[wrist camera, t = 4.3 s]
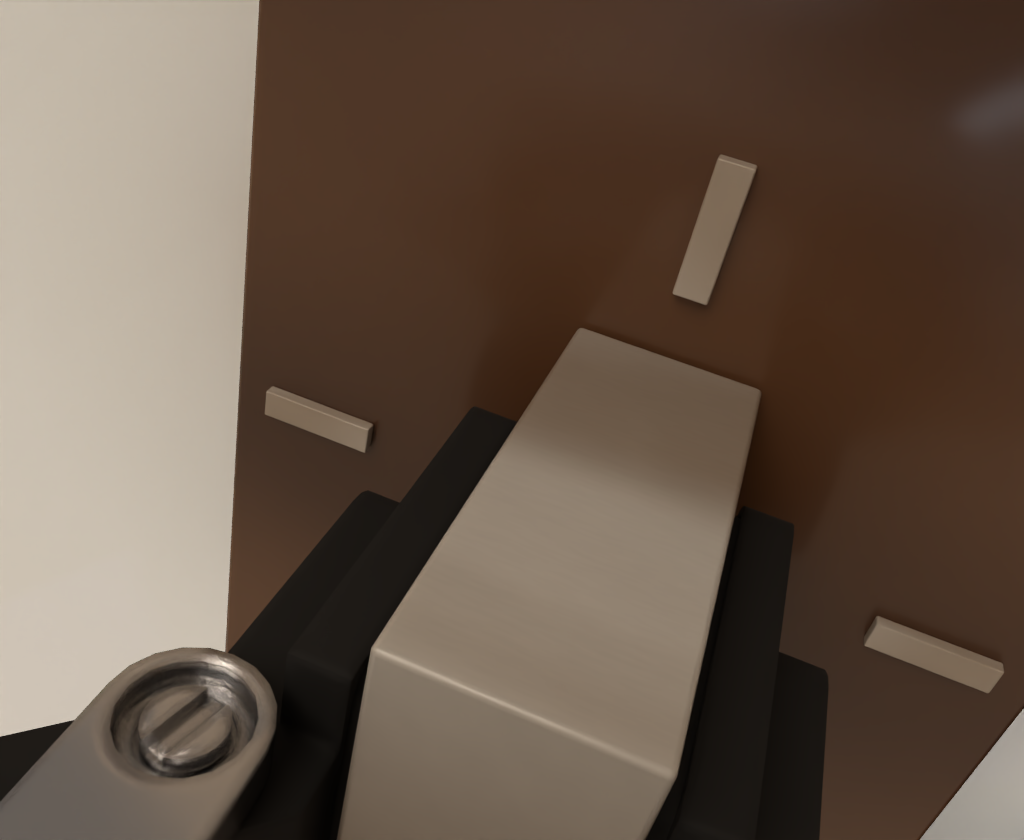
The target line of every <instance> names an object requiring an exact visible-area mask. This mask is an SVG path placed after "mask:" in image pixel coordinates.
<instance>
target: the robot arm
mask: <svg viewBox="0 0 1024 840" xmlns="http://www.w3.org/2000/svg"><path fill="white" fill-rule="evenodd" d="M516 424H517V421H514V420H511V419H509V418H506V417H503V416H500V415H498V414H495V413H492V412H490V411H487V410H484V409H481V408H479V407H476V406H474V407H472V408H471V409H470V410H469V411H468V413H467V414H466V415H465V417H464V418H463V419H462V421H461V422H460V423H459V425H458V426H457V427H456V429H455V430H454V431H453V433H452V434H451V435H450V437H449V438H448V439H447V441H446V442H445V443H444V445H443V446H442V447H441V449H440V450H439V451H438V453H437V454H436V455H435V457H434V458H433V459H432V461H431V462H430V463H429V465H428V466H427V467H426V469H425V470H424V471H423V473H422V474H421V475H420V477H419V478H418V479H417V481H416V482H415V483H414V485H413V486H412V487H411V489H410V490H409V491H408V493H407V494H406V495H405V497H404V498H403V499H402V501H401V502H400V503H399V502H397V501H394V500H392V499H389V498H387V497H384V496H382V495H379V494H376V493H374V492H371V491H369V490H367V491H364V492H362V493H360V494H359V495H358V496H357V497H356V498H355V499H354V500H353V501H352V503H351V504H350V505H349V506H348V508H347V509H346V510H345V511H344V512H343V514H342V515H341V516H340V517H339V518H338V520H337V521H336V522H335V523H334V524H333V526H332V527H331V528H330V529H329V531H328V532H327V533H326V534H325V535H324V537H323V538H322V539H321V540H320V541H319V543H318V544H317V545H316V546H315V548H314V549H313V550H312V551H311V552H310V554H309V555H308V556H307V557H306V558H305V560H304V561H303V562H302V563H301V564H300V566H299V567H298V568H297V569H296V571H295V572H294V573H293V574H292V575H291V577H290V578H289V579H288V580H287V581H286V583H285V584H284V585H283V586H282V587H281V589H280V590H279V591H278V592H277V594H276V595H275V596H274V597H273V598H272V600H271V601H270V602H269V603H268V604H267V606H266V607H265V608H264V609H263V610H262V612H261V613H260V614H259V615H258V617H257V618H256V619H255V620H254V621H253V623H252V624H251V625H250V626H249V627H248V629H247V630H246V631H245V632H244V633H243V635H242V636H241V637H240V638H239V640H238V641H237V642H236V643H235V644H234V646H233V647H232V648H231V649H230V650H229V652H228V653H226V652H223V651H219V650H215V649H211V648H178V649H173V650H169V651H164V652H159V653H155V654H153V655H151V656H149V657H146V658H144V659H142V660H140V661H138V662H136V663H134V664H132V665H130V666H128V667H127V668H126V669H125V670H124V671H122V672H121V673H120V674H119V675H118V676H116V677H115V678H114V679H113V680H112V681H110V682H109V683H108V684H107V685H106V686H105V687H104V689H103V690H102V691H101V692H100V693H99V694H98V695H97V696H96V697H95V698H94V699H93V701H92V702H91V703H90V704H89V705H88V706H87V707H86V708H85V709H84V710H83V712H82V713H81V714H80V715H79V716H78V717H77V718H76V719H75V720H73V721H68V722H64V723H59V724H55V725H51V726H46V727H42V728H37V729H33V730H28V731H24V732H19V733H15V734H11V735H6V736H2V737H0V840H337V836H338V830H339V824H340V819H341V813H342V808H343V802H344V797H345V791H346V785H347V780H348V774H349V769H350V763H351V758H352V752H353V746H354V741H355V735H356V730H357V724H358V719H359V713H360V707H361V702H362V696H363V691H364V685H365V679H366V674H367V668H368V663H369V657H370V652H371V647H372V646H373V644H374V643H375V641H376V640H377V638H378V637H379V635H380V633H381V632H382V630H383V629H384V627H385V626H386V624H387V623H388V621H389V620H390V618H391V616H392V615H393V613H394V612H395V610H396V609H397V607H398V606H399V604H400V603H401V601H402V599H403V598H404V596H405V595H406V593H407V592H408V590H409V589H410V587H411V586H412V584H413V583H414V581H415V579H416V578H417V576H418V575H419V573H420V572H421V570H422V569H423V567H424V566H425V564H426V562H427V561H428V559H429V558H430V556H431V555H432V553H433V552H434V550H435V549H436V547H437V546H438V544H439V542H440V541H441V539H442V538H443V536H444V535H445V533H446V532H447V530H448V529H449V527H450V525H451V524H452V522H453V521H454V519H455V518H456V516H457V515H458V513H459V512H460V510H461V508H462V507H463V505H464V504H465V502H466V501H467V499H468V498H469V496H470V495H471V493H472V492H473V490H474V488H475V487H476V485H477V484H478V482H479V481H480V479H481V478H482V476H483V475H484V473H485V471H486V470H487V468H488V467H489V465H490V464H491V462H492V461H493V459H494V458H495V456H496V455H497V453H498V451H499V450H500V448H501V447H502V445H503V444H504V442H505V441H506V439H507V438H508V436H509V434H510V433H511V431H512V430H513V428H514V427H515V425H516ZM793 537H794V524H793V523H790V522H787V521H784V520H782V519H779V518H776V517H774V516H771V515H768V514H766V513H763V512H760V511H757V510H755V509H752V508H749V507H747V506H743V507H742V508H741V510H740V512H739V514H738V516H737V517H734V522H733V526H732V531H731V535H730V540H729V545H728V549H727V554H726V558H725V563H724V567H723V572H722V576H721V581H720V585H719V590H718V594H717V599H716V603H715V608H714V613H713V617H712V622H711V626H710V631H709V635H708V640H707V644H706V649H705V653H704V658H703V662H702V667H701V671H700V676H699V681H698V685H697V690H696V694H695V699H694V703H693V708H692V712H691V717H690V721H689V726H688V730H687V735H686V739H685V744H684V749H683V753H682V758H681V762H680V767H679V771H678V776H677V778H676V780H675V782H674V784H673V786H672V788H671V790H670V792H669V794H668V796H667V798H666V800H665V802H664V804H663V806H662V808H661V810H660V812H659V814H658V816H657V818H656V820H655V822H654V824H653V826H652V828H651V830H650V832H649V834H648V836H647V838H646V840H819V837H820V821H821V805H822V788H823V772H824V756H825V739H826V723H827V707H828V691H829V685H828V675H827V672H826V670H825V669H822V668H819V667H817V666H814V665H812V664H809V663H807V662H804V661H802V660H799V659H797V658H794V657H791V656H789V655H786V654H784V653H781V652H779V647H780V639H781V631H782V624H783V616H784V608H785V600H786V592H787V584H788V577H789V569H790V561H791V553H792V545H793Z"/></svg>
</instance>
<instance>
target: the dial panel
mask: <svg viewBox="0 0 1024 840" xmlns="http://www.w3.org/2000/svg"><path fill="white" fill-rule="evenodd" d="M579 328H584V329H587V330H590V331H593V332H596V333H599V334H601V335H604V336H607V337H610V338H613V339H616V340H619V341H622V342H624V343H627V344H630V345H633V346H636V347H639V348H642V349H645V350H647V351H650V352H653V353H656V354H659V355H662V356H665V357H667V358H670V359H673V360H676V361H679V362H682V363H685V364H688V365H690V366H693V367H696V368H699V369H702V370H705V371H708V372H711V373H713V374H716V375H719V376H722V377H725V378H728V379H731V380H733V381H736V382H739V383H742V384H745V385H748V386H751V387H754V388H756V389H758V390H760V391H761V399H760V404H759V409H758V413H757V418H756V422H755V427H754V431H753V436H752V440H751V445H750V449H749V454H748V458H747V463H746V467H745V472H744V477H743V481H742V486H741V490H740V495H739V499H738V504H737V508H736V513H735V517H737V516H738V514H739V512H740V510H741V508H742V507H743V506H747V507H749V508H752V509H755V510H757V511H760V512H763V513H766V514H768V515H771V516H774V517H776V518H779V519H782V520H784V521H787V522H790V523H793V524H794V537H793V545H792V553H791V561H790V569H789V577H788V584H787V592H786V600H785V608H784V616H783V624H782V631H781V639H780V647H779V652H781V653H784V654H786V655H789V656H791V657H794V658H797V659H799V660H802V661H804V662H807V663H809V664H812V665H814V666H817V667H819V668H822V669H825V670H826V672H827V675H828V685H829V691H828V707H827V723H826V739H825V756H824V772H823V788H822V805H821V821H820V837H819V840H920V838H921V837H922V836H923V835H924V833H925V832H926V831H927V830H928V828H929V827H930V826H931V825H932V823H933V822H934V821H935V819H936V818H937V817H938V816H939V814H940V813H941V812H942V811H943V809H944V808H945V807H946V806H947V804H948V803H949V802H950V800H951V799H952V798H953V797H954V795H955V794H956V793H957V792H958V790H959V789H960V788H961V787H962V785H963V784H964V783H965V781H966V780H967V779H968V778H969V776H970V775H971V774H972V773H973V771H974V770H975V769H976V768H977V766H978V765H979V764H980V763H981V761H982V760H983V759H984V757H985V756H986V755H987V754H988V752H989V751H990V750H991V749H992V747H993V746H994V745H995V744H996V742H997V741H998V740H999V738H1000V737H1001V736H1002V735H1003V733H1004V732H1005V731H1006V730H1007V728H1008V727H1009V726H1010V725H1011V723H1012V722H1013V721H1014V720H1015V718H1016V717H1017V716H1018V714H1019V713H1020V712H1021V711H1022V709H1023V708H1024V0H260V1H259V20H258V40H257V59H256V78H255V97H254V116H253V135H252V154H251V173H250V192H249V211H248V230H247V249H246V269H245V288H244V307H243V326H242V345H241V364H240V383H239V402H238V421H237V440H236V459H235V478H234V498H233V517H232V536H231V555H230V574H229V593H228V612H227V631H226V650H225V652H226V653H228V652H229V650H230V649H231V648H232V647H233V646H234V644H235V643H236V642H237V641H238V640H239V638H240V637H241V636H242V635H243V633H244V632H245V631H246V630H247V629H248V627H249V626H250V625H251V624H252V623H253V621H254V620H255V619H256V618H257V617H258V615H259V614H260V613H261V612H262V610H263V609H264V608H265V607H266V606H267V604H268V603H269V602H270V601H271V600H272V598H273V597H274V596H275V595H276V594H277V592H278V591H279V590H280V589H281V587H282V586H283V585H284V584H285V583H286V581H287V580H288V579H289V578H290V577H291V575H292V574H293V573H294V572H295V571H296V569H297V568H298V567H299V566H300V564H301V563H302V562H303V561H304V560H305V558H306V557H307V556H308V555H309V554H310V552H311V551H312V550H313V549H314V548H315V546H316V545H317V544H318V543H319V541H320V540H321V539H322V538H323V537H324V535H325V534H326V533H327V532H328V531H329V529H330V528H331V527H332V526H333V524H334V523H335V522H336V521H337V520H338V518H339V517H340V516H341V515H342V514H343V512H344V511H345V510H346V509H347V508H348V506H349V505H350V504H351V503H352V501H353V500H354V499H355V498H356V497H357V496H358V495H359V494H360V493H362V492H364V491H367V490H369V491H371V492H374V493H376V494H379V495H382V496H384V497H387V498H389V499H392V500H394V501H397V502H399V503H400V502H401V501H402V499H403V498H404V497H405V495H406V494H407V493H408V491H409V490H410V489H411V487H412V486H413V485H414V483H415V482H416V481H417V479H418V478H419V477H420V475H421V474H422V473H423V471H424V470H425V469H426V467H427V466H428V465H429V463H430V462H431V461H432V459H433V458H434V457H435V455H436V454H437V453H438V451H439V450H440V449H441V447H442V446H443V445H444V443H445V442H446V441H447V439H448V438H449V437H450V435H451V434H452V433H453V431H454V430H455V429H456V427H457V426H458V425H459V423H460V422H461V421H462V419H463V418H464V417H465V415H466V414H467V413H468V411H469V410H470V409H471V408H472V407H474V406H476V407H479V408H481V409H484V410H487V411H490V412H492V413H495V414H498V415H500V416H503V417H506V418H509V419H511V420H514V421H517V422H518V421H519V419H520V417H521V416H522V414H523V413H524V411H525V410H526V408H527V407H528V405H529V404H530V402H531V401H532V399H533V397H534V396H535V394H536V393H537V391H538V390H539V388H540V387H541V385H542V384H543V382H544V380H545V379H546V377H547V376H548V374H549V373H550V371H551V370H552V368H553V367H554V365H555V364H556V362H557V360H558V359H559V357H560V356H561V354H562V353H563V351H564V350H565V348H566V347H567V345H568V343H569V342H570V340H571V339H572V337H573V336H574V334H575V333H576V331H577V330H578V329H579Z"/></svg>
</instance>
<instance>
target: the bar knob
mask: <svg viewBox="0 0 1024 840" xmlns="http://www.w3.org/2000/svg"><path fill="white" fill-rule="evenodd" d="M760 399H761V391H760V390H758V389H756V388H754V387H751V386H748V385H745V384H742V383H739V382H736V381H733V380H731V379H728V378H725V377H722V376H719V375H716V374H713V373H711V372H708V371H705V370H702V369H699V368H696V367H693V366H690V365H688V364H685V363H682V362H679V361H676V360H673V359H670V358H667V357H665V356H662V355H659V354H656V353H653V352H650V351H647V350H645V349H642V348H639V347H636V346H633V345H630V344H627V343H624V342H622V341H619V340H616V339H613V338H610V337H607V336H604V335H601V334H599V333H596V332H593V331H590V330H587V329H584V328H579V329H578V330H577V331H576V333H575V334H574V336H573V337H572V339H571V340H570V342H569V343H568V345H567V347H566V348H565V350H564V351H563V353H562V354H561V356H560V357H559V359H558V360H557V362H556V364H555V365H554V367H553V368H552V370H551V371H550V373H549V374H548V376H547V377H546V379H545V380H544V382H543V384H542V385H541V387H540V388H539V390H538V391H537V393H536V394H535V396H534V397H533V399H532V401H531V402H530V404H529V405H528V407H527V408H526V410H525V411H524V413H523V414H522V416H521V417H520V419H519V421H518V422H517V424H516V425H515V427H514V428H513V430H512V431H511V433H510V434H509V436H508V438H507V439H506V441H505V442H504V444H503V445H502V447H501V448H500V450H499V451H498V453H497V455H496V456H495V458H494V459H493V461H492V462H491V464H490V465H489V467H488V468H487V470H486V471H485V473H484V475H483V476H482V478H481V479H480V481H479V482H478V484H477V485H476V487H475V488H474V490H473V492H472V493H471V495H470V496H469V498H468V499H467V501H466V502H465V504H464V505H463V507H462V508H461V510H460V512H459V513H458V515H457V516H456V518H455V519H454V521H453V522H452V524H451V525H450V527H449V529H448V530H447V532H446V533H445V535H444V536H443V538H442V539H441V541H440V542H439V544H438V546H437V547H436V549H435V550H434V552H433V553H432V555H431V556H430V558H429V559H428V561H427V562H426V564H425V566H424V567H423V569H422V570H421V572H420V573H419V575H418V576H417V578H416V579H415V581H414V583H413V584H412V586H411V587H410V589H409V590H408V592H407V593H406V595H405V596H404V598H403V599H402V601H401V603H400V604H399V606H398V607H397V609H396V610H395V612H394V613H393V615H392V616H391V618H390V620H389V621H388V623H387V624H386V626H385V627H384V629H383V630H382V632H381V633H380V635H379V637H378V638H377V640H376V641H375V643H374V644H373V646H372V647H371V652H370V657H369V663H368V668H367V674H366V679H365V685H364V691H363V696H362V702H361V707H360V713H359V719H358V724H357V730H356V735H355V741H354V746H353V752H352V758H351V763H350V769H349V774H348V780H347V785H346V791H345V797H344V802H343V808H342V813H341V819H340V824H339V830H338V836H337V840H646V838H647V836H648V834H649V832H650V830H651V828H652V826H653V824H654V822H655V820H656V818H657V816H658V814H659V812H660V810H661V808H662V806H663V804H664V802H665V800H666V798H667V796H668V794H669V792H670V790H671V788H672V786H673V784H674V782H675V780H676V778H677V776H678V771H679V767H680V762H681V758H682V753H683V749H684V744H685V739H686V735H687V730H688V726H689V721H690V717H691V712H692V708H693V703H694V699H695V694H696V690H697V685H698V681H699V676H700V671H701V667H702V662H703V658H704V653H705V649H706V644H707V640H708V635H709V631H710V626H711V622H712V617H713V613H714V608H715V603H716V599H717V594H718V590H719V585H720V581H721V576H722V572H723V567H724V563H725V558H726V554H727V549H728V545H729V540H730V535H731V531H732V526H733V522H734V517H735V513H736V508H737V504H738V499H739V495H740V490H741V486H742V481H743V477H744V472H745V467H746V463H747V458H748V454H749V449H750V445H751V440H752V436H753V431H754V427H755V422H756V418H757V413H758V409H759V404H760Z"/></svg>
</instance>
